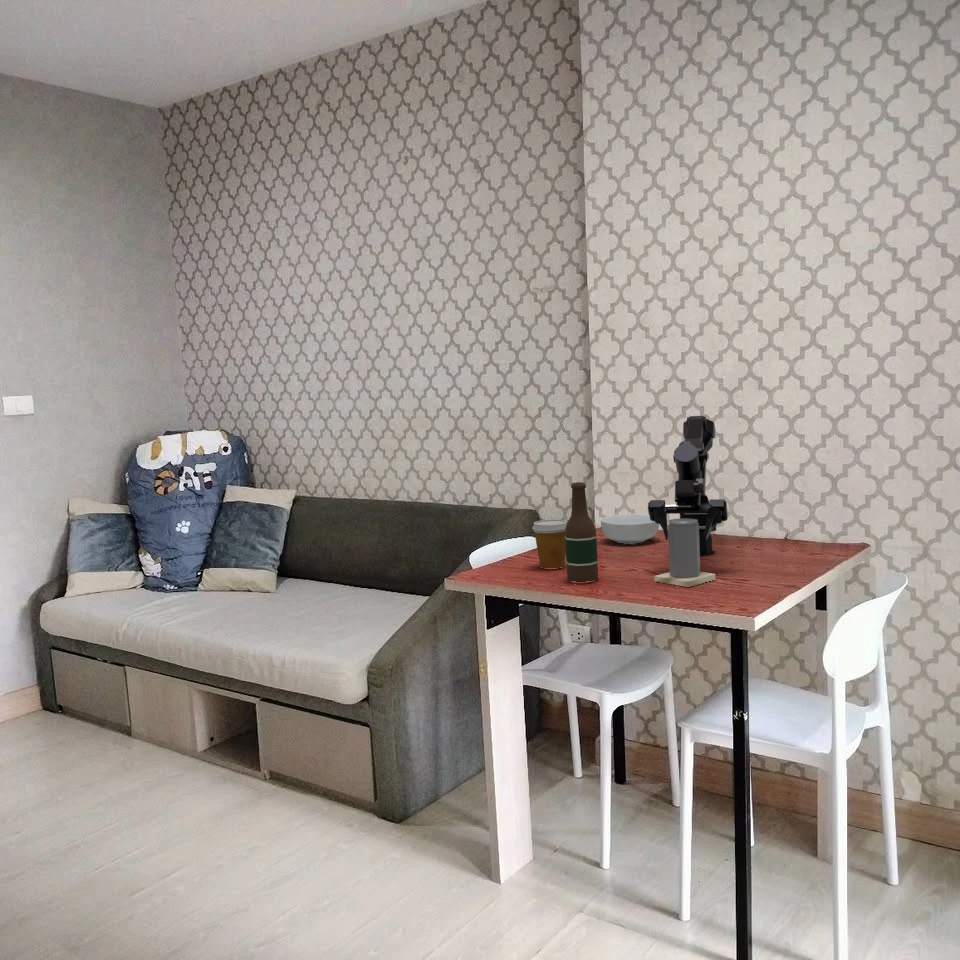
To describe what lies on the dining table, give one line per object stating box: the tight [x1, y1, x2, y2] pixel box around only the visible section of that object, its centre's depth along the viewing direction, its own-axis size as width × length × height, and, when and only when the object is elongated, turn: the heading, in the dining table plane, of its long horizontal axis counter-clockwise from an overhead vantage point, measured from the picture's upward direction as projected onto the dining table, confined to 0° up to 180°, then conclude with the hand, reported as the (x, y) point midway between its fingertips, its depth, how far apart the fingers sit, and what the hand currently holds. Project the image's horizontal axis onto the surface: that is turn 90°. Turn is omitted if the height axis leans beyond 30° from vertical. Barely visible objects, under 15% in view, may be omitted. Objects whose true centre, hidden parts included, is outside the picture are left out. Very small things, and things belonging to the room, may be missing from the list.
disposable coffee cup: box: [532, 519, 568, 568], centre depth 247 cm, size 10×10×12 cm
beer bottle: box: [565, 481, 599, 582], centre depth 229 cm, size 8×8×24 cm
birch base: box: [653, 571, 716, 587], centre depth 224 cm, size 10×10×2 cm
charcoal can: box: [668, 518, 701, 578], centre depth 223 cm, size 7×7×13 cm
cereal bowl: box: [600, 513, 660, 545], centre depth 276 cm, size 17×17×7 cm
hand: (685, 538), depth 228 cm, fingers open, 9 cm apart
